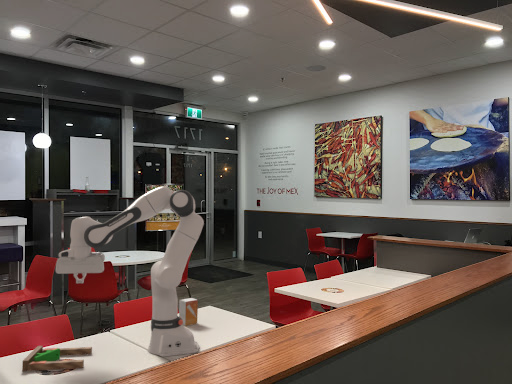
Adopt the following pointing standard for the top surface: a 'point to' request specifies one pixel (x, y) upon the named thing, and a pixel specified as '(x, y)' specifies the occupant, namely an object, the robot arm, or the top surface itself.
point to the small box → (188, 311)
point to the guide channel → (51, 365)
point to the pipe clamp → (48, 355)
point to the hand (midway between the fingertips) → (80, 283)
